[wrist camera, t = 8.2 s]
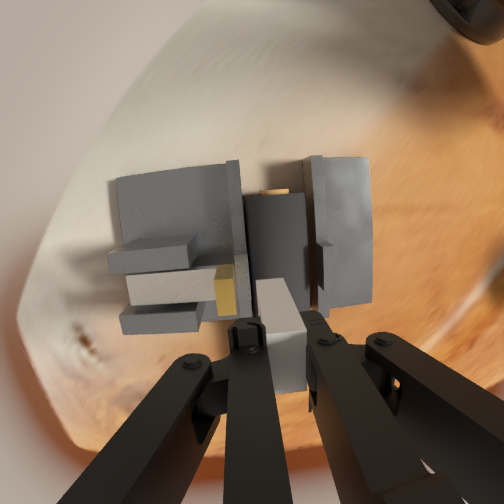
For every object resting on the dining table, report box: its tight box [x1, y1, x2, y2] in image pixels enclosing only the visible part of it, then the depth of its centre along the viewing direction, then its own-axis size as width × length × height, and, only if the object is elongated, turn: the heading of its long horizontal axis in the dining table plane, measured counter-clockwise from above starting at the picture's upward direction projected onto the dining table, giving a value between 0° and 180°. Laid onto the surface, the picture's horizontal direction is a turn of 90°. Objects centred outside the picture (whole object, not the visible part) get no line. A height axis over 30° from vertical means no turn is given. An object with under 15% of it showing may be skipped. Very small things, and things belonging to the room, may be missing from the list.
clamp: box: [107, 155, 373, 335], centre depth 25 cm, size 14×23×7 cm, turn 95°
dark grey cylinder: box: [244, 189, 310, 317], centre depth 27 cm, size 17×5×5 cm, turn 5°
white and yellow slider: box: [126, 264, 237, 316], centre depth 21 cm, size 2×8×4 cm, turn 95°
